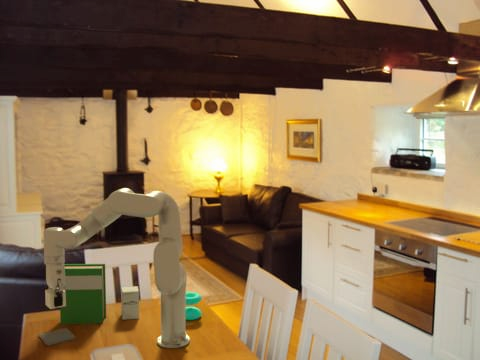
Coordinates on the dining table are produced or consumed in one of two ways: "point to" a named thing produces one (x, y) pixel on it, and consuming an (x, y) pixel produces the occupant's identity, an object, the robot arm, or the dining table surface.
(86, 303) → the hardback book
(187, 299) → the donuts
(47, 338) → the charcoal mat
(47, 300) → the painted cube
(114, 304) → the dining table surface
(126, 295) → the supplement box
